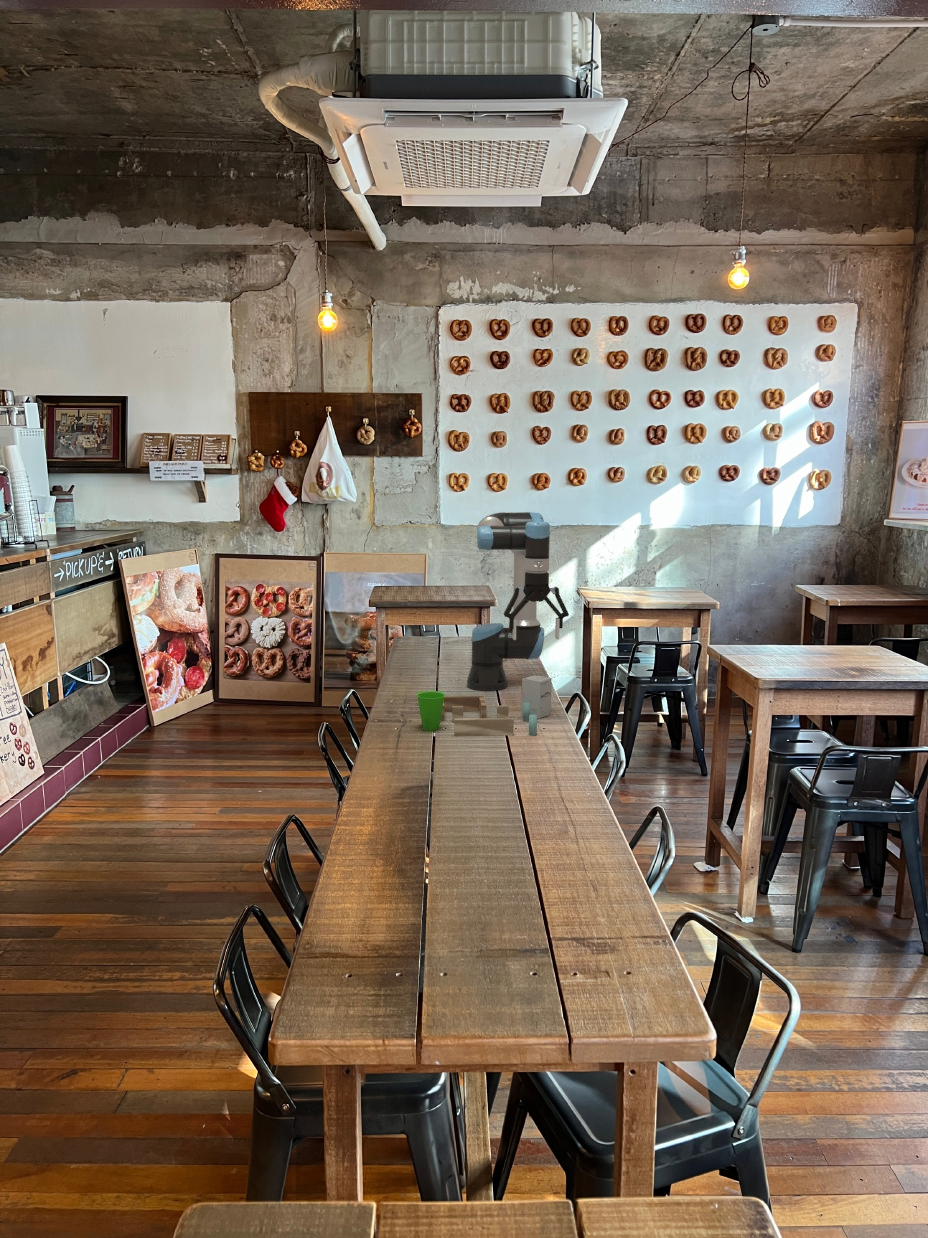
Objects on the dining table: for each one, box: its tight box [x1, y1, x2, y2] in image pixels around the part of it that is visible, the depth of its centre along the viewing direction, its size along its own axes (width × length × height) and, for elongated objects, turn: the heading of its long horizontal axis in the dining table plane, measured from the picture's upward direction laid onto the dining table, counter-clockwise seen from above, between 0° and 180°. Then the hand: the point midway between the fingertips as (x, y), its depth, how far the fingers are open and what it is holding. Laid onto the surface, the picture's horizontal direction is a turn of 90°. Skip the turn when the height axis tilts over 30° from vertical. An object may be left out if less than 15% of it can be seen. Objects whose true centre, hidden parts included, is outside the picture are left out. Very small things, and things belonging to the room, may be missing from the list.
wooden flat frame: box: [440, 695, 515, 737], centre depth 279 cm, size 28×22×5 cm
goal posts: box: [522, 702, 538, 737], centre depth 273 cm, size 17×2×6 cm, turn 3°
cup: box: [415, 690, 446, 732], centre depth 271 cm, size 9×9×11 cm
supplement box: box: [520, 674, 552, 720], centre depth 287 cm, size 7×7×13 cm
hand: (535, 639), depth 274 cm, fingers open, 13 cm apart
